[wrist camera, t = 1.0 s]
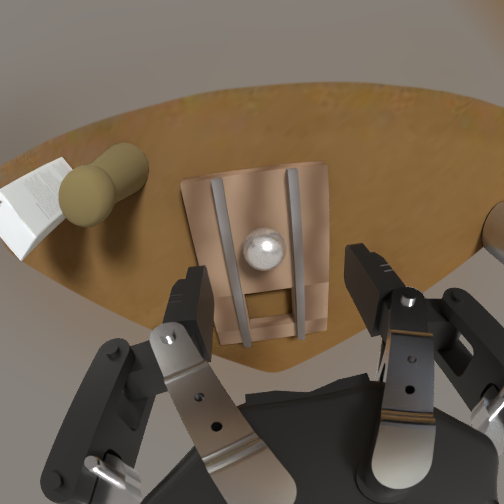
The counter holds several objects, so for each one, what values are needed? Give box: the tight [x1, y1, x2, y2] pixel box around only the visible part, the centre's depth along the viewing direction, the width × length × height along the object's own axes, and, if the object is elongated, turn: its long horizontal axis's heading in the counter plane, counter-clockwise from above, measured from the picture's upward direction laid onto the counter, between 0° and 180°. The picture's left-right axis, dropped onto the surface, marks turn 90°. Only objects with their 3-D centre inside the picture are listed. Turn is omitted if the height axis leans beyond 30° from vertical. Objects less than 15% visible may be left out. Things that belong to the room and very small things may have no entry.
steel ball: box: [243, 228, 286, 271], centre depth 30 cm, size 4×4×4 cm
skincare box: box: [0, 157, 73, 261], centre depth 24 cm, size 6×4×12 cm
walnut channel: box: [180, 161, 329, 348], centre depth 34 cm, size 15×23×3 cm, turn 7°
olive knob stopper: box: [58, 143, 149, 227], centre depth 24 cm, size 6×6×11 cm
